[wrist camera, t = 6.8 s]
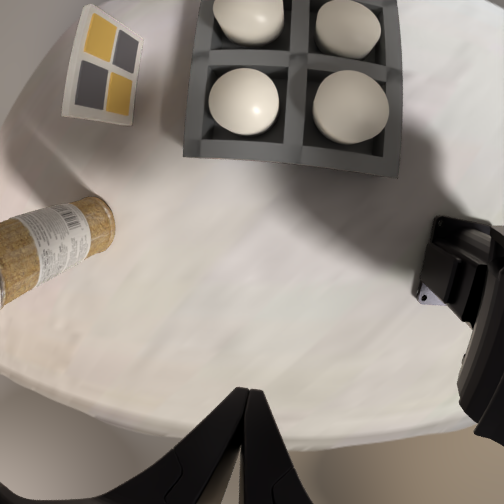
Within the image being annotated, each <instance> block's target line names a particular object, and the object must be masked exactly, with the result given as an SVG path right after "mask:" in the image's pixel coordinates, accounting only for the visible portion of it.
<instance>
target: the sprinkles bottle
mask: <svg viewBox="0 0 504 504" xmlns="http://www.w3.org/2000/svg"><path fill="white" fill-rule="evenodd" d="M114 235H115V221H114V218H113V214H112V212H111V210H110V208H109V207H108V206H107V205H106V204H105V203H104V202H103V201H102V200H100V199H98V198H96V197H86V198H83V199H81V200H80V201H76V202H72V203H63V204H59V205H55V206H51V207H47V208H43V209H39V210H35V211H32V212H28V213H25V214H21V215H18V216H15V217H12V218H9V219H8V220H6V221H3V222H1V223H0V310H1V309H2V308H3V306H4V305H6V304H7V303H9V302H11V301H12V300H14V299H16V298H17V297H19V296H20V295H22V294H24V293H26V292H27V291H30V290H32V289H34V288H36V287H38V286H39V285H41V284H43V283H45V282H46V281H48V280H50V279H52V278H53V277H55V276H57V275H59V274H61V273H62V272H64V271H66V270H68V269H70V268H72V267H73V266H75V265H77V264H79V263H81V262H82V261H83V260H85V259H86V258H88V257H90V256H92V255H94V254H96V253H100V252H103V251H105V250H106V249H107V248H108V247H109V246H110V245H111V243H112V241H113V239H114Z"/></svg>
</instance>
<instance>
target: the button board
mask: <svg viewBox="0 0 504 504" xmlns="http://www.w3.org/2000/svg"><path fill="white" fill-rule="evenodd" d="M214 1H215V0H201V3H200V9H199V15H198V21H197V27H196V33H195V40H194V47H193V55H192V62H191V70H190V79H189V88H188V97H187V108H186V119H185V131H184V145H183V157H190V158H208V159H230V160H247V161H261V162H273V163H284V164H295V165H304V166H313V167H321V168H329V169H337V170H344V171H351V172H357V173H364V174H370V175H376V176H382V177H390V178H397V179H398V173H399V162H400V150H401V134H402V107H403V76H402V51H401V36H400V25H399V15H398V7H397V0H351V1H355V2H357V3H360V4H362V5H364V6H365V7H367V8H368V9H369V10H370V11H371V12H372V13H373V14H374V15H375V16H376V18H377V19H378V21H379V23H380V27H381V34H380V38H379V40H378V41H377V43H376V44H375V45H374V47H373V48H372V50H371V51H370V52H369V54H368V55H367V56H366V57H365V58H364V59H363V60H361V61H359V60H354V59H348V58H342V57H335V56H329V55H324V54H323V53H322V52H321V51H320V50H319V48H318V47H317V45H316V42H315V39H314V32H315V26H316V20H317V14H318V11H319V10H320V8H321V7H322V6H323V5H324V4H326V3H327V2H329V1H332V0H283V11H284V28H283V31H282V33H281V34H280V36H279V37H278V38H277V39H275V40H274V41H273V42H271V43H269V44H267V45H264V46H260V47H243V46H239V45H237V44H235V43H233V42H231V41H230V40H229V39H228V38H227V37H226V35H225V34H224V32H223V30H222V28H221V26H220V25H219V23H218V21H217V19H216V17H215V15H214V13H213V4H214ZM240 68H250V69H255V70H258V71H260V72H262V73H264V74H265V75H267V76H268V77H269V78H270V79H271V80H272V82H273V83H274V85H275V87H276V89H277V93H278V98H279V104H280V112H279V116H278V119H277V121H276V122H275V124H274V125H273V126H272V128H270V129H269V130H268V131H267V132H265V133H263V134H261V135H258V136H254V137H243V136H239V135H236V134H234V133H232V132H231V131H229V130H227V129H225V128H224V127H222V126H221V125H219V124H218V123H217V122H216V120H215V119H214V118H213V116H212V114H211V112H210V109H209V94H210V91H211V89H212V87H213V85H214V84H215V82H216V81H217V80H218V79H219V78H220V77H221V76H223V75H224V74H226V73H227V72H229V71H232V70H235V69H240ZM343 70H352V71H357V72H361V73H363V74H366V75H367V76H369V77H371V78H372V79H373V80H375V81H376V82H377V83H378V84H379V85H380V87H381V88H382V89H383V91H384V93H385V95H386V97H387V100H388V104H389V117H388V120H387V123H386V125H385V127H384V128H383V130H382V131H381V132H380V133H379V134H378V135H376V136H375V137H373V138H371V139H368V140H365V141H362V142H359V143H356V144H351V145H344V144H338V143H335V142H333V141H331V140H329V139H328V138H326V137H325V136H324V135H323V134H322V133H321V132H320V131H319V130H318V128H317V126H316V125H315V122H314V120H313V115H312V106H313V102H314V99H315V96H316V93H317V90H318V88H319V86H320V84H321V83H322V82H323V80H324V79H325V78H327V77H328V76H329V75H331V74H333V73H335V72H338V71H343Z"/></svg>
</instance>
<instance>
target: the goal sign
mask: <svg viewBox="0 0 504 504" xmlns="http://www.w3.org/2000/svg"><path fill="white" fill-rule="evenodd" d="M143 41H144V39H143V38H141V37H140V36H138V35H137V34H136V33H134V32H133V31H132V30H130V29H129V28H127V27H126V26H125V25H123V24H122V23H120V22H119V21H117V20H116V19H114V18H113V17H111V16H110V15H109V14H107V13H106V12H104V11H103V10H101V9H99V8H98V7H96V6H95V5H93V4H89V5H86V6H84V7H83V10H82V13H81V16H80V20H79V23H78V27H77V31H76V35H75V39H74V43H73V47H72V51H71V56H70V61H69V66H68V71H67V77H66V83H65V89H64V96H63V104H62V112H61V116H63V117H71V118H79V119H86V120H92V121H99V122H105V123H111V124H117V125H123V126H131V125H132V122H133V111H134V102H135V93H136V85H137V78H138V71H139V64H140V58H141V52H142V46H143Z"/></svg>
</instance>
